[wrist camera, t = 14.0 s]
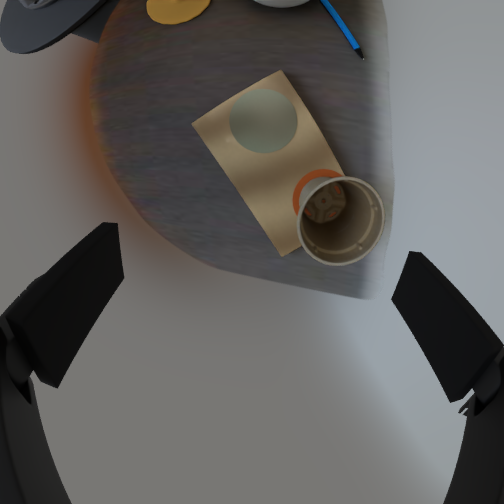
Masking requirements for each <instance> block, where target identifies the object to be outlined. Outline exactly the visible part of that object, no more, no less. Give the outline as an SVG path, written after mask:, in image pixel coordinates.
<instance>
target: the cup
mask: <svg viewBox="0 0 504 504" xmlns="http://www.w3.org/2000/svg"><path fill="white" fill-rule="evenodd" d="M210 1H211V0H148V2H147V13H148V14H149V15H150V17H151V18H152V19H153V20H154V21H157V22H159V23H161V24H173V25H175V24H179V23H183V22H187V21H189V20H191V19H193V18H194V17H196V16H198V15H200V14H201V13H202V12H203V11H204V10H205V9H206V8H207V7H208V6H209V3H210Z"/></svg>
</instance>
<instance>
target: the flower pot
mask: <svg viewBox="0 0 504 504" xmlns="http://www.w3.org/2000/svg"><path fill="white" fill-rule="evenodd" d="M335 186H338V187H339V190H340V192H341V193H340V194H338V193H337V191H336V189H335V188H334V187H335ZM322 200H325V203H323V202H322ZM299 206H300V209H299V212H298V216H297V233H298V237H299V240H300V243H301V245H302V246H303V248H304V249H305V251H306V252H307V253H308V254H309V255H310V256H311V257H312V258H314V259H315V260H317V261H319V262H321V263H324V264H327V265H333V266H343V265H348V264H351V263H354V262H356V261H358V260H360V259H362V258H363V257H365V256H366V255H367V254H368V253H369V252H370V251H371V250H372V249H373V248H374V247H375V246H376V244H377V243H378V241H379V239H380V237H381V235H382V232H383V229H384V224H385V210H384V205H383V202H382V200H381V198H380V196H379V194H378V193H377V192H376V190H375V189H374V188H373V187H372V186H371V185H369V184H368V183H367V182H365V181H363V180H361V179H358V178H355V177H349V176H341V177H335V178H331V177H317V178H315V179H312V180H311V181H309V182H308V183H307V184H306V185H305V186H304V187H303V189H302V191H301V194H300V197H299ZM305 208H307V209H308V211H309V212H310V213H311V214H312V215H311V216H309V215H307V214H306V212H305ZM334 212H336V214H335V215H333V216H332V217H329V216H330V215H331V214H332V213H334Z"/></svg>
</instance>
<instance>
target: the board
mask: <svg viewBox="0 0 504 504" xmlns="http://www.w3.org/2000/svg"><path fill="white" fill-rule="evenodd" d="M192 126H193V127H194V128H195V130H196V131H197V133H198V134H199V136H200V137H201V138H202V140H203V141H204V143H205V144H206V146H207V147H208V148H209V150H210V151H211V153H212V154H213V156H214V157H215V158H216V160H217V161H218V163H219V164H220V166H221V167H222V169H223V170H224V172H225V173H226V174H227V176H228V177H229V179H230V180H231V182H232V183H233V185H234V186H235V188H236V189H237V191H238V192H239V194H240V195H241V197H242V198H243V199H244V201H245V202H246V204H247V205H248V207H249V208H250V210H251V211H252V213H253V214H254V216H255V217H256V219H257V220H258V222H259V223H260V225H261V226H262V228H263V229H264V231H265V232H266V234H267V235H268V237H269V238H270V240H271V241H272V243H273V245H274V246H275V248H276V249H277V251H278V252H279V254H280V255H281V257H283V256H285V255H286V254H288V253H290V252H292V251H294V250H295V249H297V248H299V247H301V246H302V245H301V243H300V240H299V237H298V233H297V215H296V213H295V211H294V208H293V202H292V198H293V192H294V189H295V187H296V185H297V183H298V182H299V181H300V179H301V178H302V177H304V176H305V175H306V174H308V173H309V172H311V171H314V170H318V169H329V170H333V171H336V172H337V173H339V174H341V175H342V176H345V175H344V173H343V171H342V169H341V167H340V165H339V164H338V162H337V160H336V158H335V156H334V154H333V152H332V150H331V149H330V147H329V145H328V143H327V141H326V140H325V138H324V136H323V134H322V133H321V131H320V129H319V128H318V126H317V124H316V122H315V121H314V119H313V117H312V116H311V114H310V113H309V111H308V109H307V108H306V106H305V105H304V103H303V101H302V100H301V98H300V97H299V95H298V94H297V92H296V91H295V89H294V88H293V86H292V85H291V83H290V82H289V80H288V79H287V77H286V76H285V74H284V73H283V72H282V70H279V71H277V72H275V73H273V74H271V75H269V76H268V77H266V78H264V79H262V80H260V81H258V82H257V83H255V84H253V85H251V86H250V87H248V88H246V89H245V90H243V91H241V92H239V93H238V94H236V95H234V96H233V97H231V98H230V99H228V100H226V101H225V102H223V103H222V104H220V105H219V106H217V107H215V108H214V109H212V110H211V111H209V112H208V113H206V114H205V115H203V116H202V117H200V118H199V119H198V120H196V121H195V122H193V123H192Z"/></svg>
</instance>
